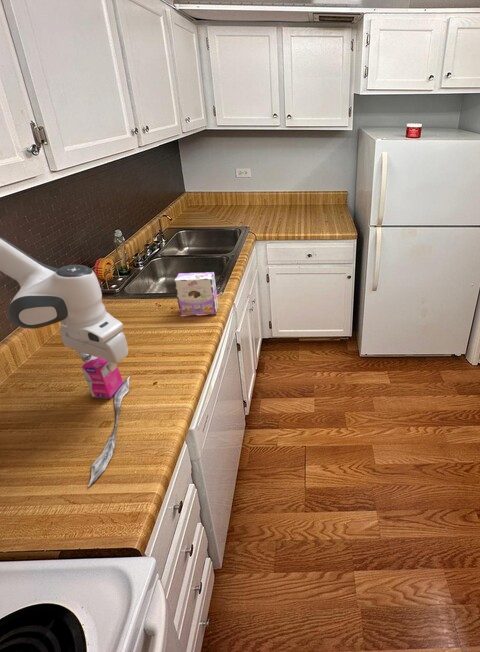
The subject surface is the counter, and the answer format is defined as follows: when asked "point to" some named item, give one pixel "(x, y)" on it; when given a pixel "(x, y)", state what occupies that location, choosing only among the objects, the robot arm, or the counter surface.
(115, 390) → the supplement box
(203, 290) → the candy box
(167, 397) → the counter surface
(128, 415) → the counter surface
